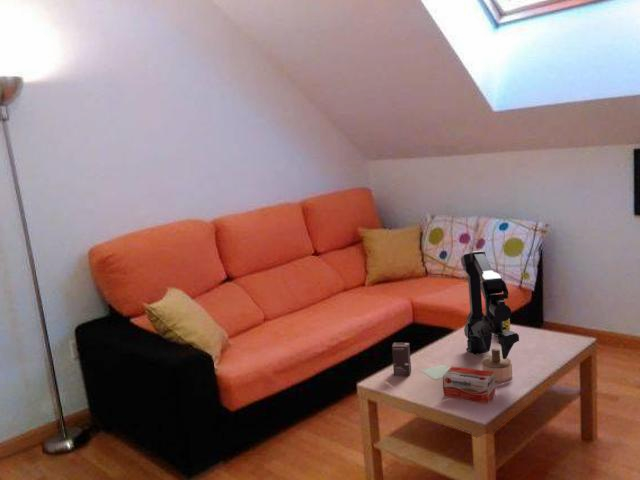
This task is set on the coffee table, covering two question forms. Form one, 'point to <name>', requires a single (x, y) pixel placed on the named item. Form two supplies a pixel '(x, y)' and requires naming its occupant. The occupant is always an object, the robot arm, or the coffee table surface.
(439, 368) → the mat
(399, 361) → the box
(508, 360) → the lid
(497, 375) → the bowl
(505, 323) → the supplement bottle
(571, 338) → the coffee table surface
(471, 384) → the medicine box
